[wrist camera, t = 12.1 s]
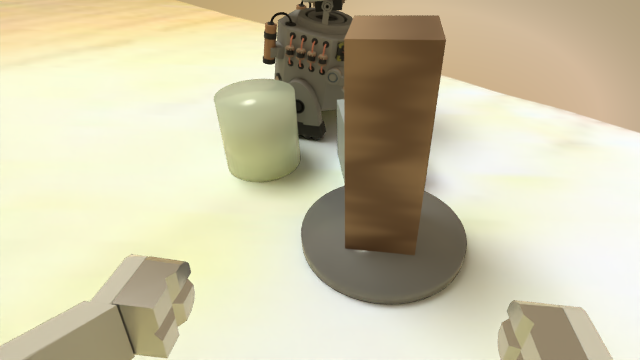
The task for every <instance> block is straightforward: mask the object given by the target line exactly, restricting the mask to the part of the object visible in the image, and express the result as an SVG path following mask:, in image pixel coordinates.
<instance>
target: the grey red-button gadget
mask: <svg viewBox="0 0 640 360" xmlns="http://www.w3.org/2000/svg"><path fill="white" fill-rule="evenodd" d="M303 1H304V2H309V8H306V6H305V5H303ZM344 1H345V0H302V2H301V4H299V5H297V7H296V10H295V11H293V12H291V13H290V14H287V13H284V12H280V13H276V14H275V15H274V16H273V17H272V19H271V21H270V22H267V23H265V31H264V38H265V42H264V56H263V63H265V64H275V58H276V64H275V80H280V81H283V82H286V83H288V84H290V85H291V86H292V87H293V88H294V90H295V101H296V113H297V125H298V135H303V136H304V137H305V138H306V139H309V138H310V137H311V136H312V138H313V139H314V140H318V139H319V138H322V136H323V135H324V134H325V132H326V129H325V124H324V121H322V115H321V111H327V110H336V109H337V100H340V99H344V38H345V36H346V34H347V31H348V29H349V27H350V25H351V22H352V20H353V18H352V17H351V16H349V15H347V14H345V13H343V12H340V11H336V10H342V5H343V3H345V2H344ZM311 3H313V6H314V7H315V8H311ZM277 15H286V16H284V17H283V18H281V19H279V20H278V32H276V28H277V24H275V23H274V22H273V19H274V18H275V17H276V16H277ZM276 37H277V41H276Z"/></svg>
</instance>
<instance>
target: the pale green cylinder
mask: <svg viewBox="0 0 640 360" xmlns="http://www.w3.org/2000/svg"><path fill="white" fill-rule="evenodd" d="M214 102H215V107H216V111H217V116H218V121H219V126H220V130H221V135H222V140H223V145H224V149H225V154H226V159H227V164H228V168H229V171H230V172H231V174H232V175H234V176H235V177H237V178H239V179H241V180H245V181H250V182H265V181H272V180H276V179H279V178H282V177H284V176H286V175H288V174H290V173H291V172H293V171H294V170H295V169H296V168H297V166H298V165H299V163H300V150H299V138H298V125H297V113H296V101H295V90H294V88H293V87H292V86H291V85H290V84H288V83H286V82H283V81H280V80H274V79H253V80H246V81H241V82H237V83H233V84H231V85H228V86H226V87H224V88H222V89H221V90H219V91H218V92H217V93H216V94H215V96H214Z"/></svg>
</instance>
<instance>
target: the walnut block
mask: <svg viewBox="0 0 640 360" xmlns="http://www.w3.org/2000/svg"><path fill="white" fill-rule="evenodd" d="M445 42H446V39H445V35H444V32H443V28H442V25H441V21H440V18H439V16H354V18H353V20H352V22H351V25H350V27H349V29H348V31H347V34H346V36H345V38H344V129H345V248H346V249H356V250H366V251H376V252H386V253H396V254H406V255H415V250H416V243H417V236H418V229H419V223H420V216H421V209H422V202H423V195H424V188H425V181H426V174H427V167H428V160H429V153H430V146H431V139H432V132H433V126H434V119H435V112H436V105H437V98H438V91H439V84H440V77H441V70H442V63H443V56H444V49H445Z"/></svg>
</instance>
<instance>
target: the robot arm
mask: <svg viewBox="0 0 640 360" xmlns="http://www.w3.org/2000/svg"><path fill="white" fill-rule="evenodd" d="M190 273H191V270H190V266H189V263H187V262H184V261H178V260H171V259H164V258H157V257H148V256H141V255H134V254H131V255H129V256H128V257H126V258H125V259H124V260H123V261H122V263H121V264H120V265H119V266H118V268H117V269H116V270H115V271H114V273H113V274H112V275H111V276H110V277H109V279H108V280H107V281H106V282H105V284H104V285H103V286H102V287H101V289H100V290H99V291H98V292H97V293H96V295H95V296H94V297H93V298H92V300H91V301H83V302H81V303H79V304H78V305H76V306H74V307H72V308H70V309H68V310H66V311H65V312H63V313H61V314H59V315H57V316H55V317H53V318H52V319H50V320H48V321H46V322H44V323H42V324H40V325H38V326H37V327H35V328H33V329H31V330H29V331H27V332H25V333H24V334H22V335H20V336H18V337H16V338H14V339H12V340H10V341H9V342H7V343H5V344H3V345H1V346H0V360H131V359H132V358H134V357H135V356H134V355H142V356H151V357H160V358H168V356H169V354H170V352H171V351H172V349H173V347H174V345H175V343H176V341H177V339H178V337H179V332H178V326H180V325H181V324H183V323H184V322H185V321H187V319H188V317H189V315H190V313H191V311H192V307H193V303H194V295H195V291H194V285H193V284H192V283H191V282H190V281H189V280H188V277H189V275H190ZM507 313H508V316H509V319H508V320H506V321H504V322H502V324H501V326H500V329H499V332H498V351H499V355H500V359H501V360H613V358H612V357H611V355H610V353H609V351H608V350H607V348H606V346H605V344H604V343H603V341H602V339H601V337H600V336H599V334H598V332H597V330H596V328H595V327H594V325H593V323H592V321H591V320H590V318H589V316H588V314H587V313H586V311H585V310H583V309H582V308H581V307H572V306H563V305H554V304H545V303H536V302H526V301H517V300H513V301H512V302H511V303H510V305H509V307H508V309H507Z"/></svg>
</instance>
